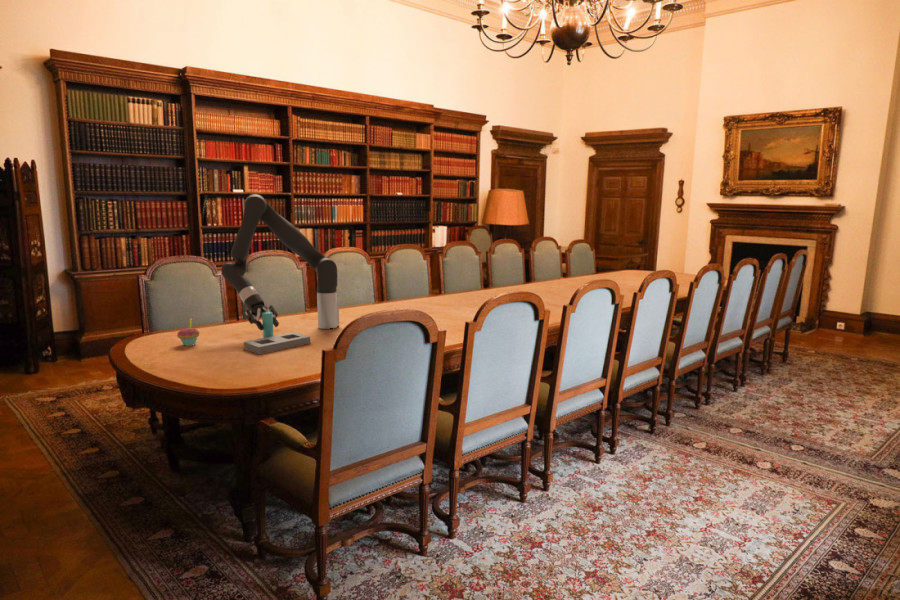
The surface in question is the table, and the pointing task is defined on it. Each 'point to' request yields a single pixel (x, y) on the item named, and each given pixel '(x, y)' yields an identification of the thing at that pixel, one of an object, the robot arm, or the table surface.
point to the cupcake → (188, 335)
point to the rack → (276, 342)
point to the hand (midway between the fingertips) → (270, 327)
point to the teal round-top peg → (267, 324)
